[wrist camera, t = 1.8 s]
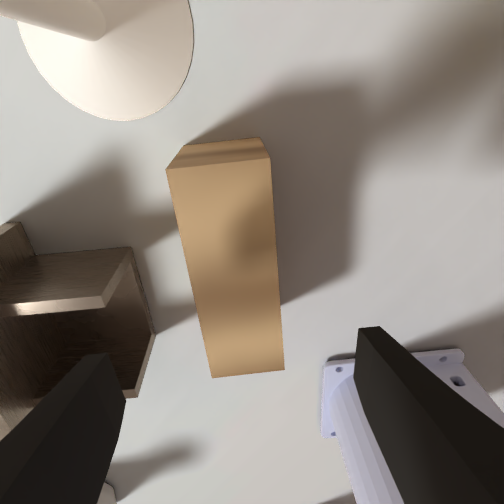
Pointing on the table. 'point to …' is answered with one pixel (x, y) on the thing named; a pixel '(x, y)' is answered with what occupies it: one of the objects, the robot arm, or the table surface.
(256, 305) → the wooden block
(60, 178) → the table surface
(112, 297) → the bracket
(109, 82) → the champagne flute
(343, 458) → the robot arm
